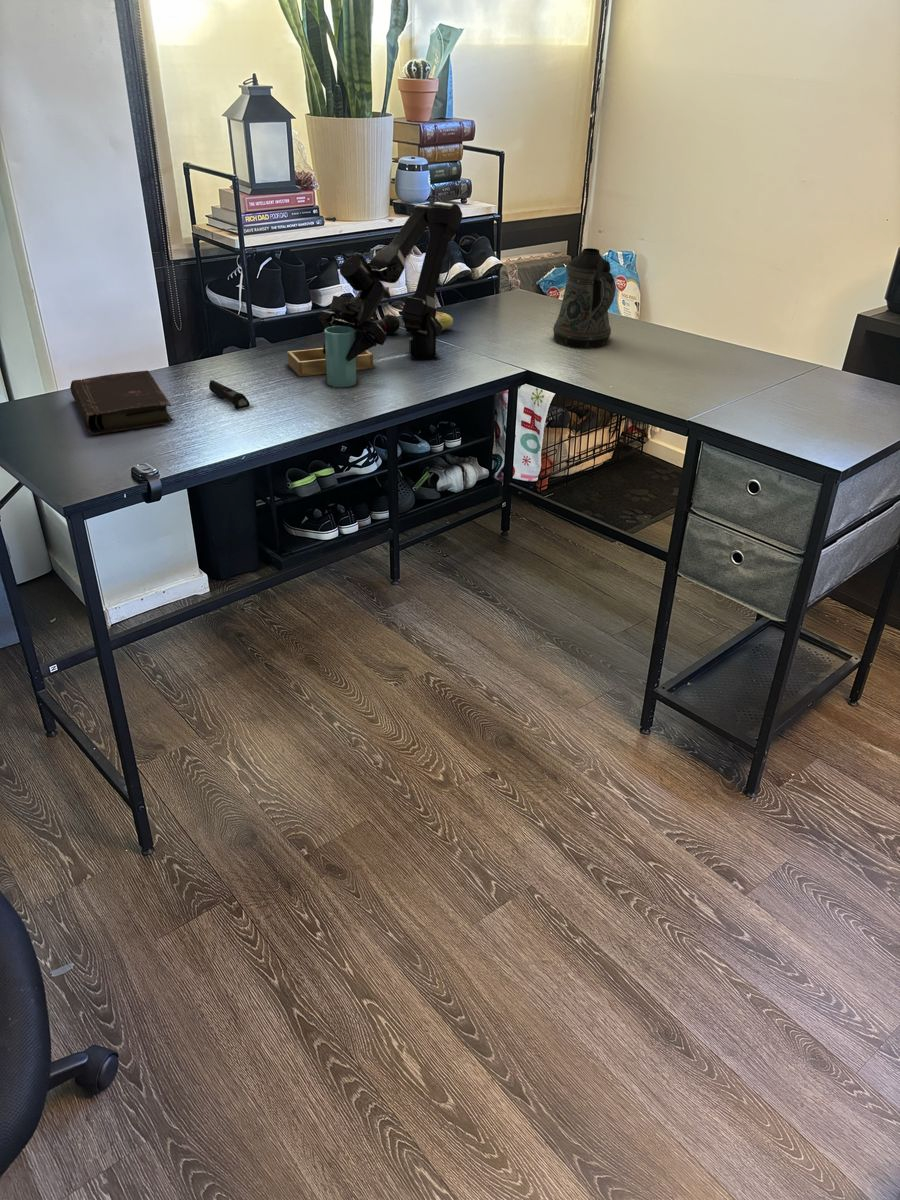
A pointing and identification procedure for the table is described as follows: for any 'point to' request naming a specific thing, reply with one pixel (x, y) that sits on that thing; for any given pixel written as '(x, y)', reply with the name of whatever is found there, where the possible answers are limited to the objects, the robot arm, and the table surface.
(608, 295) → the beer stein
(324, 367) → the divided wooden tray
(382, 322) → the microphone
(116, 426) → the diary
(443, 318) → the plant cell model
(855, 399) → the table surface
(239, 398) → the electric trimmer
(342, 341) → the tumbler
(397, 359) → the table surface
